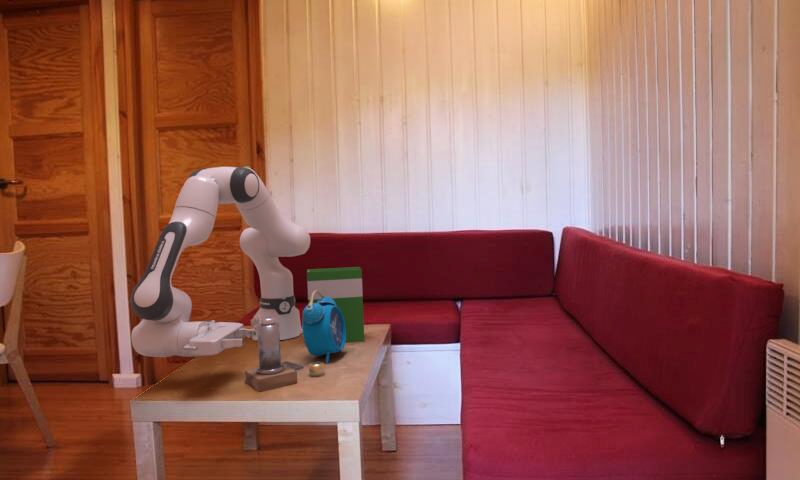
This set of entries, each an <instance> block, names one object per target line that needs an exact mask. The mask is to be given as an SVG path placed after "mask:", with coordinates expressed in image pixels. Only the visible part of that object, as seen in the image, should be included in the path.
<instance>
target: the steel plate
mask: <svg viewBox="0 0 800 480" xmlns="http://www.w3.org/2000/svg"><path fill="white" fill-rule="evenodd" d="M281 363H282V364H284V365H286V366H288V367H290V368H292V369H294V370H295V371H299V370H303V369H304V367H305V366H304V365H301V364H297V363H294V362H291V361H281Z"/></svg>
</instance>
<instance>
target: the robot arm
mask: <svg viewBox="0 0 800 480" xmlns="http://www.w3.org/2000/svg"><path fill="white" fill-rule="evenodd" d="M226 204H227V205H229V204H235V206H236V208H237V210H238V213H239V214H240V215H241V218H242V219H243V220H244V223H245V224H247V226H248V227H247V228H245V229H244V230H243V231H242V232H241V235H240V237H239V246H240V249H241V250H242V252H243V254H245V255H247V257H249V259H250V260H252V262H253V264H254V265H255V267H256V269H257V273H258V275H259V276H258V277H259V281H260V282H259V283H260V284H259V285H260V295H261V296H260V298H259V306H258V307H259V309H258V310H257V312H256V313H255V314H254V316H253V318H252V319H250V325H251V326H253V327H252V328H249V329H248V328H245V326H244V324H243V323H240V322H225V321H218V322H216V320H215V319H214V320H213V319H212V320H211V319H209V320H204V321H190V320H191V315H192V310H193V301H192V298H191V296H190V295H189V294H188V293H187V292H185V291H183V290H181V289H179V288H177V287H175V286H173V284H172V278H173V274H174V272H175V270H176V267H177V264H178V263H179V262H178V261H179V258H180V256H181V254H182V252H183V251H184V250H185V249H186V248H188V247H192V246H198V245H200V244H203V243H205V242H206V241H207V240H208V239H209V237H210V235H211V233H212V232H213V229H214V225H215V221H216V217H217V212H218V208H219V207H218V206H219V205H226ZM310 246H311V236H310V233H309V232H308V230H307V229H306V227H304V226H301V225H299V224H297V223H295V222H293V221H292V220H290V218H288V217H287V216H286V215H285V214H283V212H281V211H280V210H279V209H278V207H277V205H276V204H275V203H274V201H273V198H272V197H271V195H270V193H269V190H268V189H267V187H266V185H265V183H264V182H263V181H262V179H261V177H260V176H259V175H258V174H257V173H256V172H255V170H254V169H251V168H250V167H243V166H236V167H235V166H218V167H209V168H206V167H204V168H203V167H202V168H200V169H199V168H198V169H196V170H194V171H193V172H191V174H190V175H189V177H188V178H187V179H186V180H185V182H184V184H183V186H182V187H181V190H180V192H179V194H178V197H177V199H176V202H175V205H174V208H173V212H172V214H171V218H170V219H169V222H168V224H167V225H165V227H164V228H163V230H162V231H161V233H160V235H159V237H158V240H157V241H156V245H155V247H154V249H153V252H152V254H151V257H150V259H149V261H148V264H147V267H146V268H145V271H144V273H143V275H142V276H141V278H140V279H139V280H138V282H137V284H136V285H135V286H134V288H133V289H132V292H131V293H130V298H129V299H130V300H129V303H130V308H131V310H132V312H133V314H134V315H135V316H136V317H138V318H140V319H141V320H140V322H138V324H137V325H136V326H134V327H133V329H132V330H131V335H130V337H131V338H130V339H131V344H132V347H133V349H134V351H135V352H137V354H139V355H141V356H144V357H150V358H151V357H153V358H170V357H172V356H179V357H184V358H185V357H203V356H216V355H219V354H220V353H221V352H222V351H224V350H226V349H230V348H231V349H232V348H237V347H238V348H239V347H242V346H244V344H245V340H244V338H250V339H252V341H258V330H257V325H258V324H261V318H264V317H275V322H276V323H279V334H280V341H282V340H284V341H285V340H289V339H293V338H297V337H299V336H300V335H301V334H303V329H302V325H301V318H300V315H301V314H300V310H299V309H298V308H297V307H296V306H295V305H296V297H295V296H296V295H295V294H294V277H293V273H292V272H291V270H290V269H288V268H287V267H286V266H284V265H283V264H282V263H281V262H280V260H279V257H280V258H281V257H283V258H284V257H287V258H288V257H289V258H290V257H297V256H301V255H305V254H306V253H307V251H309V248H310Z"/></svg>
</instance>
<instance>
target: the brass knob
mask: <svg viewBox="0 0 800 480" xmlns="http://www.w3.org/2000/svg"><path fill="white" fill-rule="evenodd" d="M308 374H309V375H308V376H309V377H312V378H318V377H319V378H320V377H323V376H324V375H325V363H324V362H323V361H312V362H309V363H308Z"/></svg>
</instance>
